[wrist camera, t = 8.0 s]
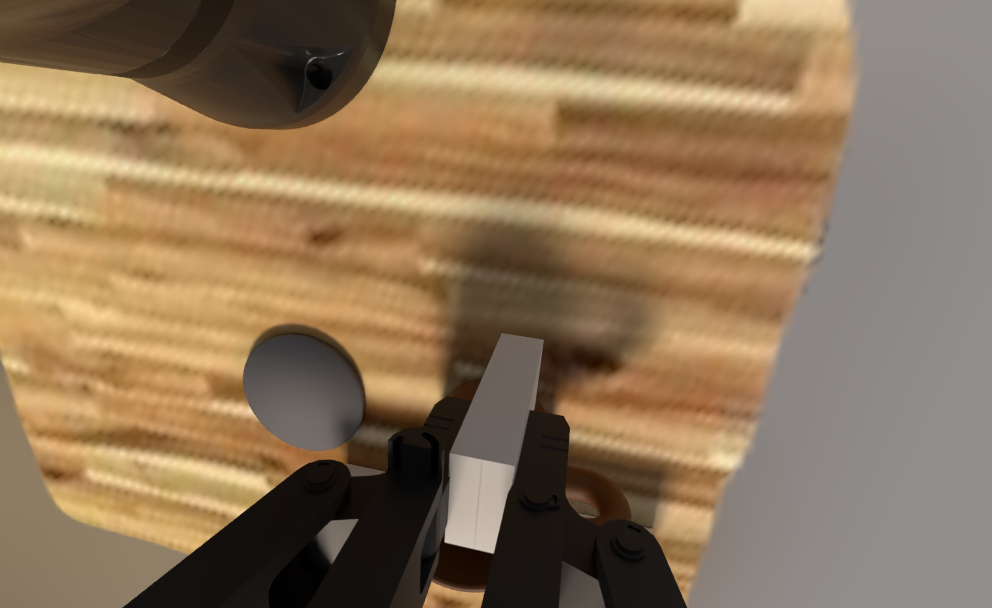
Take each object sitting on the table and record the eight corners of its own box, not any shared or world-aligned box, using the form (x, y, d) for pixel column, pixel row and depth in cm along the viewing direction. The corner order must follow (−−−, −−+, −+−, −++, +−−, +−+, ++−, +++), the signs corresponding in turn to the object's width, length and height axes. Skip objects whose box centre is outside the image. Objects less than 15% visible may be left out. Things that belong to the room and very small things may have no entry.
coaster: (242, 324, 32) (236, 327, 32) (364, 345, 31) (360, 349, 30) (255, 432, 35) (249, 437, 35) (366, 456, 34) (362, 461, 33)
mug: (626, 380, 28) (641, 489, 19) (620, 483, 31) (631, 621, 22) (435, 369, 30) (373, 463, 22) (444, 466, 33) (391, 584, 24)
